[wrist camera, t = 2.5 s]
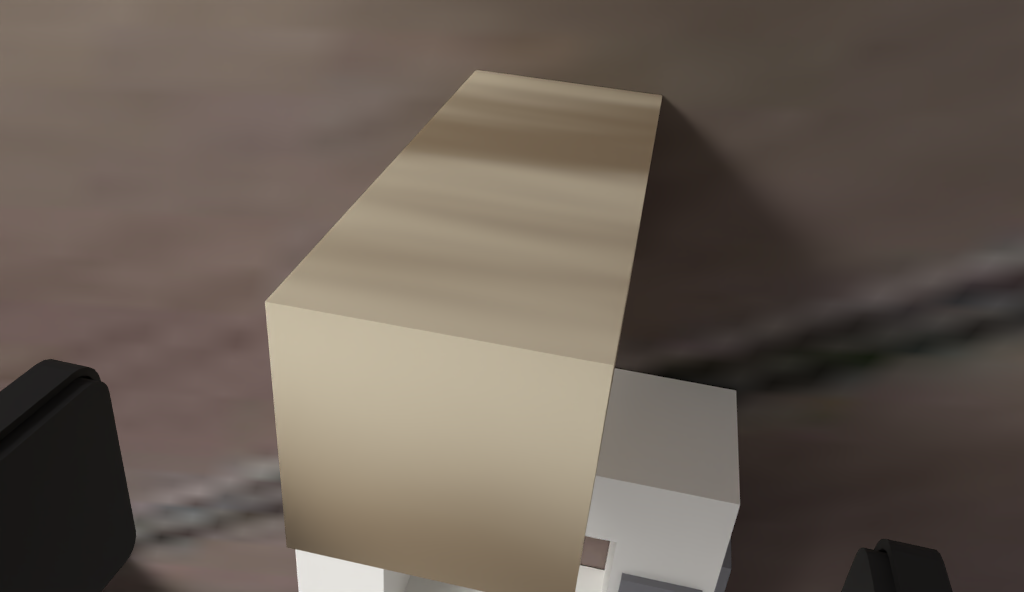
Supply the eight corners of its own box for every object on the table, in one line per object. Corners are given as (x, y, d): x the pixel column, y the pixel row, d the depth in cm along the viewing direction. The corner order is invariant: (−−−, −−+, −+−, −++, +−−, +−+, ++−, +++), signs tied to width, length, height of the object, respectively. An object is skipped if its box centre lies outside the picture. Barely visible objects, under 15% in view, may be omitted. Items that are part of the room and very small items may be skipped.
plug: (476, 70, 18) (264, 302, 10) (662, 95, 17) (614, 364, 9) (466, 235, 20) (286, 547, 12) (633, 262, 20) (571, 611, 11)
